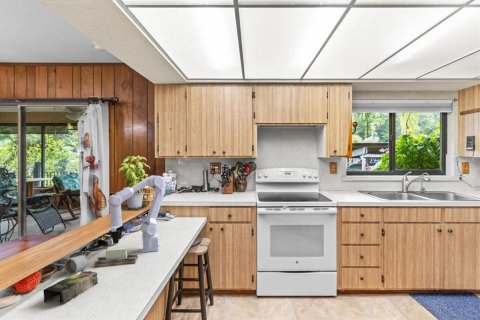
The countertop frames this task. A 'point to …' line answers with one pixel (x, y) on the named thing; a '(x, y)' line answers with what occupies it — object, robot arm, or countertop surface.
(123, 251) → the door panel
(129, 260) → the track board
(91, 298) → the countertop surface
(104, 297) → the countertop surface
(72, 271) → the grey cylinder
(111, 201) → the robot arm
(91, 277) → the mossy channel block
